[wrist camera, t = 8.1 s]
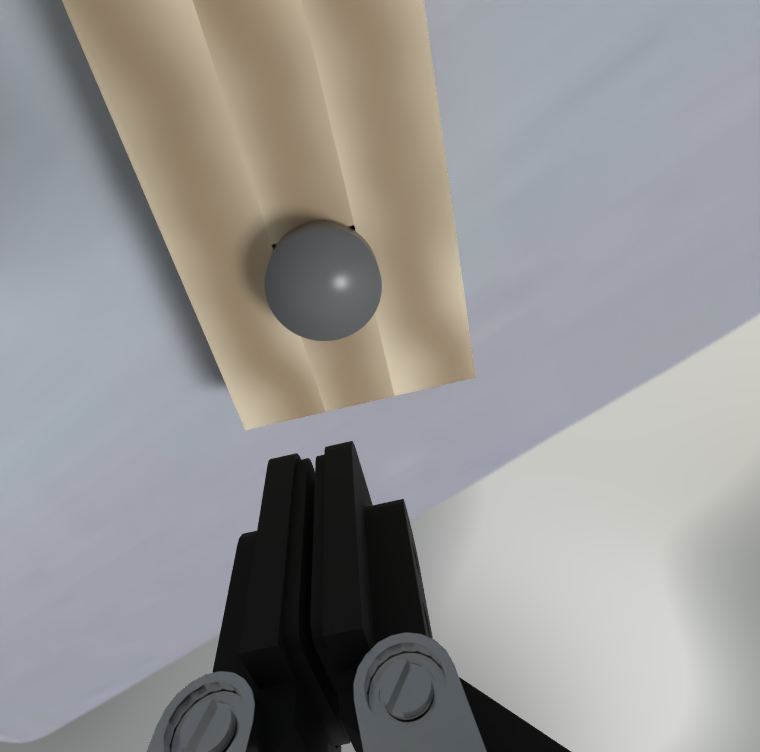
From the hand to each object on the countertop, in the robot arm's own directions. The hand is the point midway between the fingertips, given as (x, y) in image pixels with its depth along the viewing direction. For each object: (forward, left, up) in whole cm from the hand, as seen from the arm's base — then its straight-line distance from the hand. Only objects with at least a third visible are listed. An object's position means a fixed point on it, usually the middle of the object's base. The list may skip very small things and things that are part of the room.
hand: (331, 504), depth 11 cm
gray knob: (0, 0, -18) cm, 18 cm away
